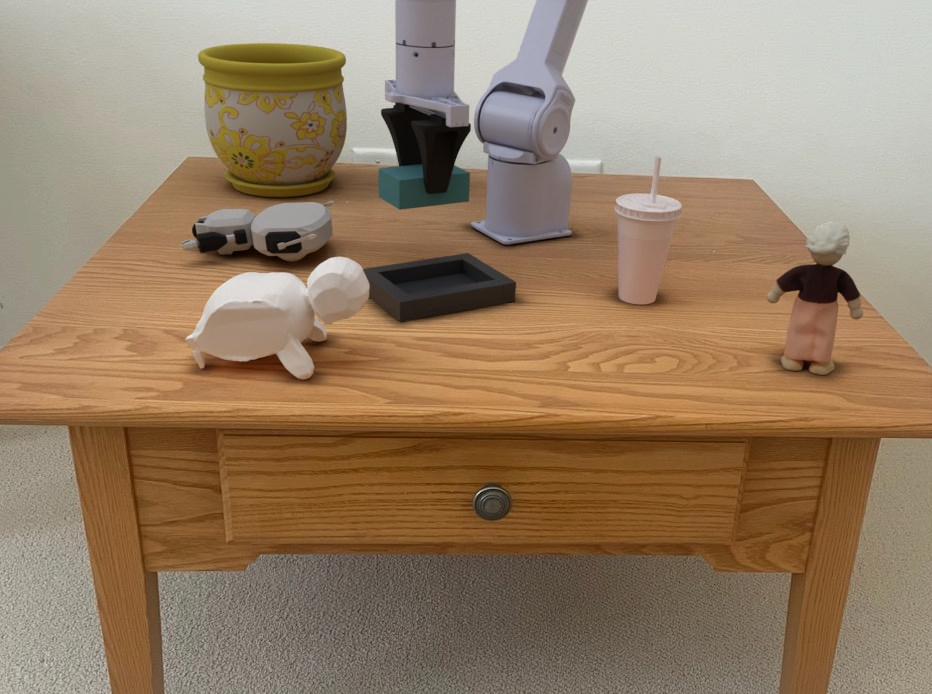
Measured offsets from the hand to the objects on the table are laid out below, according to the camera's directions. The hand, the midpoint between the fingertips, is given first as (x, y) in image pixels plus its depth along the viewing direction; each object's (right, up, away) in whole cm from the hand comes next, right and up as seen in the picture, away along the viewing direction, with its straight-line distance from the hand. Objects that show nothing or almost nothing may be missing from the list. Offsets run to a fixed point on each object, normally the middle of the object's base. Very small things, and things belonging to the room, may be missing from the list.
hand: (424, 185), depth 98 cm
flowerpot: (-21, +7, +29) cm, 36 cm away
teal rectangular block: (0, -1, +1) cm, 1 cm away
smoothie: (+21, -12, -2) cm, 25 cm away
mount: (+1, -12, -4) cm, 13 cm away
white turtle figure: (-11, -19, -18) cm, 28 cm away
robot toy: (-18, -6, +5) cm, 19 cm away
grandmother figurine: (+34, -20, -15) cm, 42 cm away
